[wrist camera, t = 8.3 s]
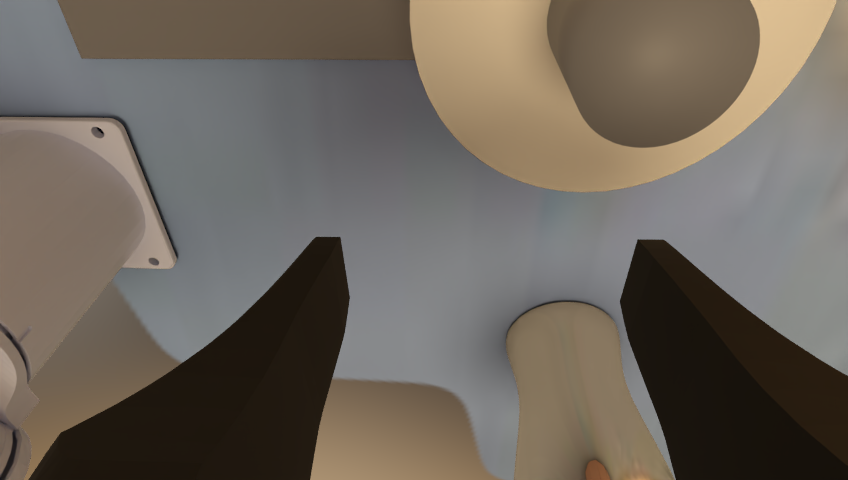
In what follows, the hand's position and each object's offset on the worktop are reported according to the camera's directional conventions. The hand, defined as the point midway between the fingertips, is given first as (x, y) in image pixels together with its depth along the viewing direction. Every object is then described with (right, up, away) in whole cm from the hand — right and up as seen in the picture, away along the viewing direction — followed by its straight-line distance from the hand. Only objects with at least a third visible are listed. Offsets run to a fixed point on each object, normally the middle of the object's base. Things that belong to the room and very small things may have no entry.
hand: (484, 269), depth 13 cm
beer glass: (+6, -5, +16) cm, 18 cm away
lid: (+4, +7, +2) cm, 8 cm away
